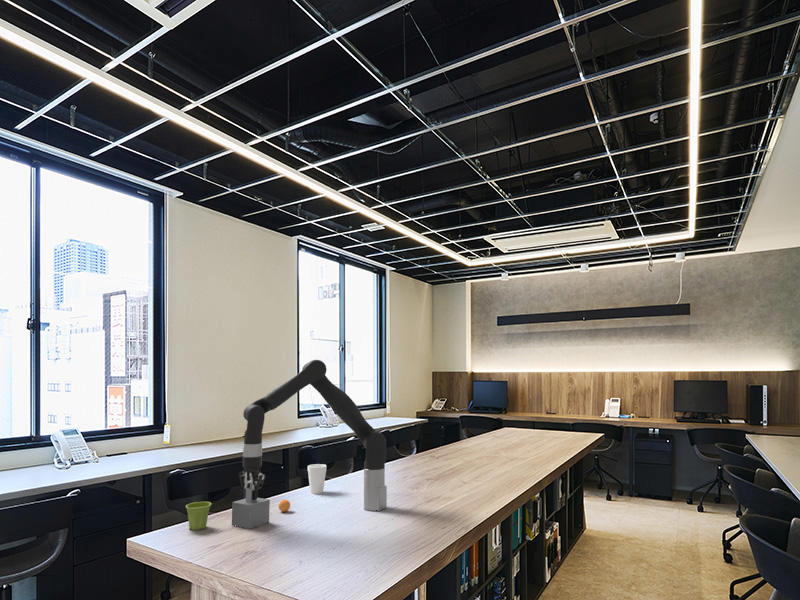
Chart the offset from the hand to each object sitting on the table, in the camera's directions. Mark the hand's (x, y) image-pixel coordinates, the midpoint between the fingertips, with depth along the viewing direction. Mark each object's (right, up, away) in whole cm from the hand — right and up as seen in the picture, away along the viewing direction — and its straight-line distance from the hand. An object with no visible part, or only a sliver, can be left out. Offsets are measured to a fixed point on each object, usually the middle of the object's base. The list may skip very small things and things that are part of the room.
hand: (251, 498), depth 204 cm
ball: (+10, -9, +16) cm, 21 cm away
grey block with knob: (0, -10, -1) cm, 10 cm away
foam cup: (+18, -17, +50) cm, 56 cm away
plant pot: (-19, -9, -6) cm, 22 cm away
